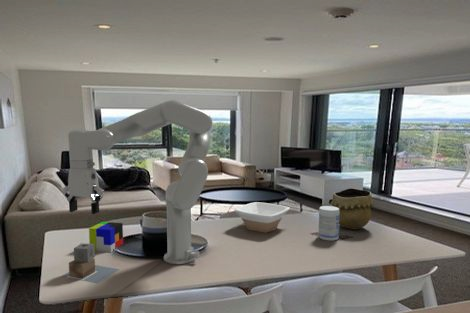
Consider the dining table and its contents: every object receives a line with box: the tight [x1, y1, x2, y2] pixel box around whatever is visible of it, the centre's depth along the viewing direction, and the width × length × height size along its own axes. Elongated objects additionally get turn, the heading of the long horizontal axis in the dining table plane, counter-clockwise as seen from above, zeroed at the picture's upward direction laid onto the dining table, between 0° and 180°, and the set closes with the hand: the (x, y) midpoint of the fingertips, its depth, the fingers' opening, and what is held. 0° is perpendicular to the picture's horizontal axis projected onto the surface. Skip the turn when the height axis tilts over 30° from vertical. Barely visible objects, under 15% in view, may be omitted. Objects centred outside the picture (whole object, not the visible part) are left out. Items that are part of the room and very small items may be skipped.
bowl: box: [233, 201, 290, 234], centre depth 181 cm, size 24×25×11 cm
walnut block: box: [68, 258, 96, 279], centre depth 124 cm, size 6×6×5 cm
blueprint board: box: [60, 264, 121, 284], centre depth 125 cm, size 16×12×1 cm
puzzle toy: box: [88, 221, 124, 254], centre depth 152 cm, size 10×10×10 cm
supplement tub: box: [318, 205, 340, 242], centre depth 165 cm, size 10×10×15 cm
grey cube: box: [73, 242, 96, 262], centre depth 124 cm, size 5×5×5 cm
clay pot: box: [330, 187, 375, 230], centre depth 180 cm, size 21×21×20 cm
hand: (84, 212), depth 124 cm, fingers open, 9 cm apart
